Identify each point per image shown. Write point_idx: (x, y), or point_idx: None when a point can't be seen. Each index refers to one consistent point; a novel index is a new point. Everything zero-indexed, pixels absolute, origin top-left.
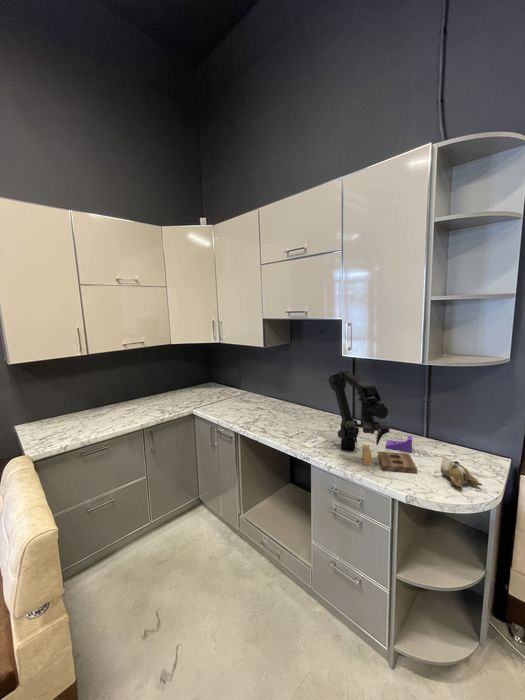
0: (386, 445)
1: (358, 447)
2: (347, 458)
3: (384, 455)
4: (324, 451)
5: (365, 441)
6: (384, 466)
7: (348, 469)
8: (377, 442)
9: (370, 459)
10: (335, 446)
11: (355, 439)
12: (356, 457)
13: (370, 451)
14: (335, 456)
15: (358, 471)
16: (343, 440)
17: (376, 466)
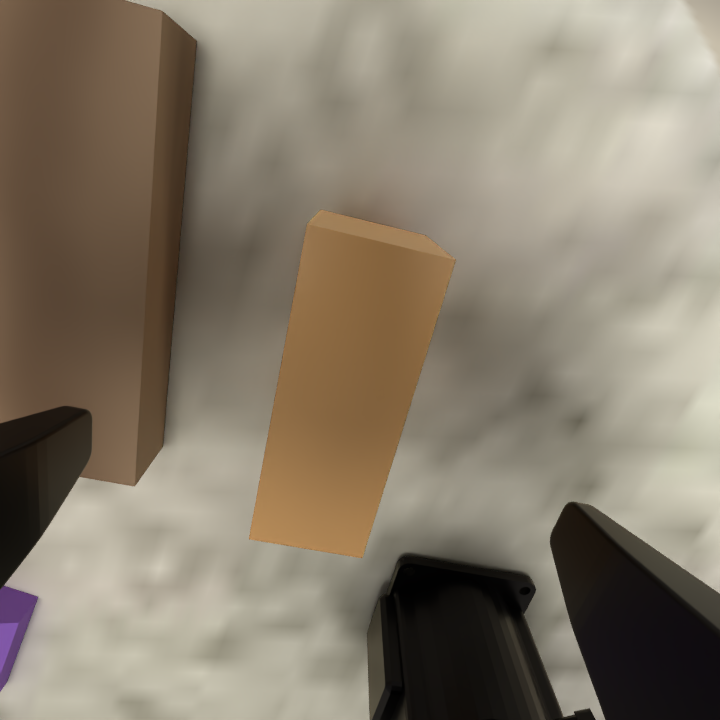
0: (4, 632)
1: (322, 624)
2: (544, 415)
3: (62, 370)
4: (716, 567)
5: (214, 717)
6: (137, 8)
7: (679, 120)
8: (14, 436)
9: (326, 214)
10: (549, 648)
11: (698, 591)
12: (427, 432)
13: (305, 275)
14: (659, 465)
15: (566, 43)
16: (541, 704)
17: (250, 187)
